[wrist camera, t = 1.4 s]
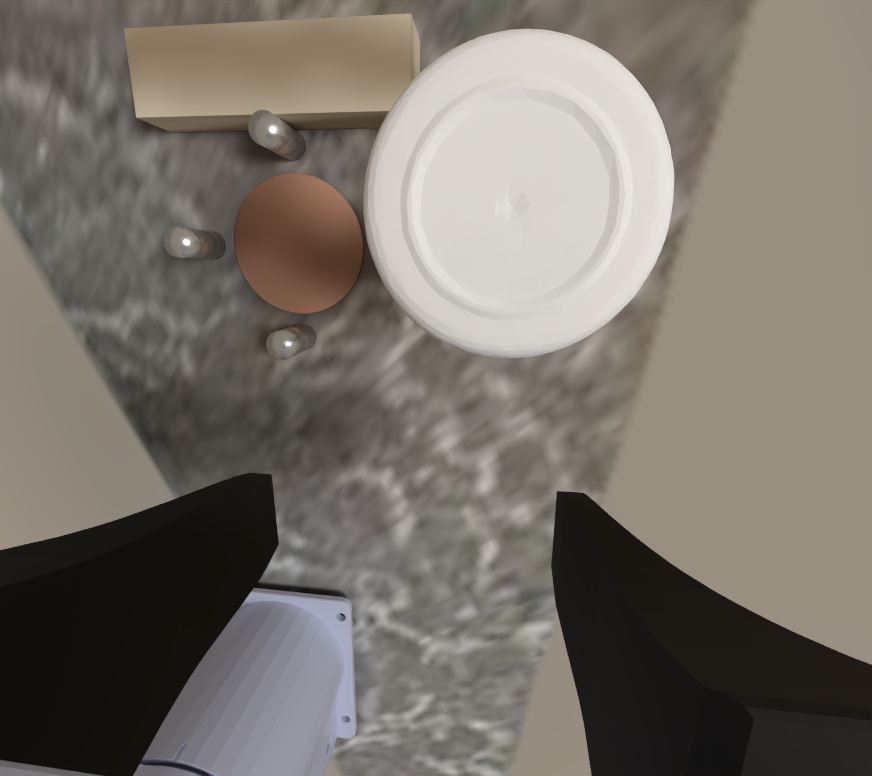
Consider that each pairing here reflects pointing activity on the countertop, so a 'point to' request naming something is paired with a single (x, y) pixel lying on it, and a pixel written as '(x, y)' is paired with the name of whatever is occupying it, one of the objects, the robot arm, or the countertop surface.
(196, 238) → the guide pins
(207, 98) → the wooden bar with disc
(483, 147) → the sprinkles bottle
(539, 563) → the countertop surface
